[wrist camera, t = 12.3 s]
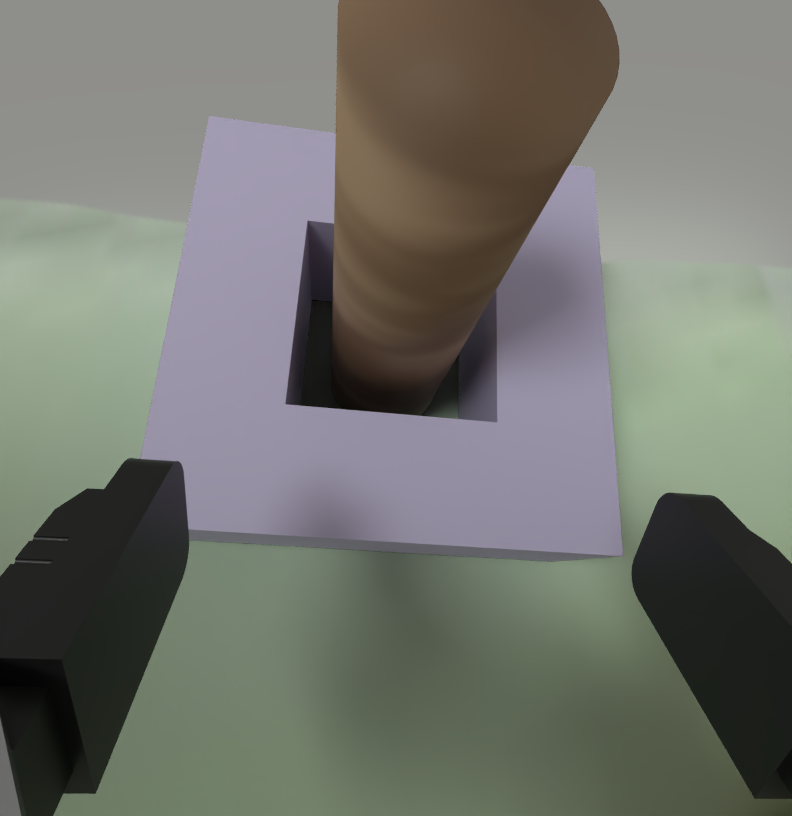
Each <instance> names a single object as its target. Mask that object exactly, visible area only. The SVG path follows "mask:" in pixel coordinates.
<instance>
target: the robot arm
mask: <svg viewBox="0 0 792 816" xmlns="http://www.w3.org/2000/svg"><path fill="white" fill-rule="evenodd" d="M188 551H189V530H188V517H187V505H186V493H185V481H184V471H183V467H182V464H181V463H180V462H179V461H167V460H151V459H135V458H129V459H127V460H126V461H125V462H124V463H123V464H122V465H121V467H120V468H119V469H118V471H117V472H116V474H115V475H114V476H113V478H112V479H111V481H110V482H109V483H108V485H107V486H106V488H105V489H86V490H84V491H83V492H81V493H80V494H78V495H76V496H75V497H73V498H72V499H70V500H69V501H67V502H66V503H64V504H63V505H61V506H59V507H58V508H56V509H55V510H54V511H53V512H52V514H51V515H50V516H49V517H48V519H47V520H46V521H45V522H44V524H43V525H42V526H41V527H40V528H39V530H38V531H37V532H36V533H35V535H34V539H33V541H29V542H28V543H27V544H26V546H25V547H24V548H23V549H22V551H21V552H20V553H19V554H18V556H17V557H16V558H15V563H14V564H10V565H9V567H8V568H7V569H6V570H5V572H4V573H3V574H2V575H1V576H0V816H53V815H54V813H55V810H56V808H57V806H58V804H59V801H60V799H61V797H62V795H63V793H88V794H96V791H97V789H98V786H99V784H100V781H101V779H102V776H103V774H104V771H105V769H106V766H107V764H108V761H109V759H110V756H111V754H112V752H113V749H114V747H115V744H116V742H117V739H118V737H119V734H120V732H121V729H122V727H123V724H124V722H125V719H126V717H127V714H128V712H129V709H130V707H131V704H132V702H133V700H134V697H135V695H136V692H137V690H138V687H139V685H140V682H141V680H142V677H143V675H144V672H145V670H146V667H147V665H148V662H149V660H150V657H151V655H152V652H153V650H154V647H155V645H156V643H157V640H158V638H159V635H160V633H161V630H162V628H163V625H164V623H165V620H166V618H167V615H168V613H169V610H170V608H171V605H172V603H173V600H174V598H175V595H176V593H177V590H178V588H179V586H180V583H181V581H182V578H183V575H184V572H185V568H186V564H187V559H188ZM632 583H633V588H634V591H635V594H636V596H637V598H638V600H639V602H640V603H641V605H642V607H643V609H644V610H645V612H646V614H647V615H648V617H649V619H650V620H651V622H652V624H653V626H654V627H655V629H656V631H657V632H658V634H659V636H660V638H661V639H662V641H663V643H664V644H665V646H666V648H667V650H668V651H669V653H670V655H671V656H672V658H673V660H674V661H675V663H676V665H677V667H678V668H679V670H680V672H681V673H682V675H683V677H684V679H685V680H686V682H687V684H688V685H689V687H690V689H691V690H692V692H693V694H694V696H695V697H696V699H697V701H698V702H699V704H700V706H701V708H702V709H703V711H704V713H705V714H706V716H707V718H708V720H709V721H710V723H711V725H712V726H713V728H714V730H715V731H716V733H717V735H718V737H719V738H720V740H721V742H722V743H723V745H724V747H725V749H726V750H727V752H728V754H729V755H730V757H731V759H732V760H733V762H734V764H735V766H736V767H737V769H738V771H739V772H740V774H741V776H742V778H743V779H744V781H745V783H746V784H747V786H748V788H749V790H750V791H751V793H752V795H753V796H754V798H755V799H792V564H791V562H790V561H789V560H788V559H787V558H786V557H785V556H784V555H783V554H782V553H781V552H780V551H779V550H778V549H777V548H775V547H774V546H772V545H771V544H769V543H768V542H766V541H765V540H763V539H762V538H760V537H759V536H757V535H756V534H754V533H753V532H751V531H750V530H749V529H748V528H747V527H746V526H745V525H744V524H743V523H742V522H741V521H740V520H739V519H738V518H737V517H736V516H735V515H734V514H733V513H732V512H731V511H730V510H729V509H728V508H727V507H726V505H725V504H724V503H723V502H722V501H721V500H719V499H718V498H716V497H715V496H711V495H696V494H680V493H666V494H664V495H663V496H662V497H661V498H660V499H659V500H658V502H657V504H656V506H655V509H654V511H653V514H652V516H651V518H650V521H649V523H648V526H647V528H646V531H645V533H644V536H643V538H642V540H641V543H640V545H639V548H638V550H637V553H636V555H635V558H634V560H633V564H632Z"/></svg>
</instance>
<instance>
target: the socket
mask: <svg viewBox="0 0 792 816" xmlns="http://www.w3.org/2000/svg"><path fill="white" fill-rule="evenodd" d="M335 145H336V133H331V132H323V131H316V130H308V129H300V128H294V127H286V126H279V125H272V124H264V123H256V122H249V121H241V120H235V119H228V118H220V117H213V116H210V117H209V121H208V125H207V130H206V135H205V140H204V146H203V150H202V155H201V160H200V165H199V170H198V175H197V180H196V185H195V190H194V195H193V200H192V205H191V210H190V214H189V220H188V224H187V229H186V234H185V239H184V244H183V249H182V254H181V259H180V264H179V269H178V274H177V279H176V284H175V289H174V294H173V299H172V304H171V309H170V314H169V319H168V323H167V328H166V333H165V338H164V343H163V348H162V353H161V358H160V363H159V368H158V373H157V378H156V383H155V388H154V393H153V398H152V403H151V408H150V413H149V418H148V423H147V428H146V432H145V437H144V442H143V447H142V452H141V457H140V459H151V460H167V461H179V462H180V463H181V464H182V467H183V471H184V481H185V493H186V505H187V517H188V530H189V540H199V541H216V542H233V543H250V544H267V545H283V546H300V547H317V548H334V549H350V550H367V551H384V552H401V553H417V554H434V555H451V556H468V557H484V558H501V559H518V560H535V561H564V560H578V559H592V558H605V557H619V556H623V548H622V535H621V521H620V508H619V495H618V482H617V468H616V455H615V442H614V429H613V416H612V402H611V389H610V376H609V363H608V349H607V336H606V323H605V310H604V296H603V283H602V270H601V257H600V244H599V231H598V217H597V204H596V192H595V179H594V178H595V177H594V168H588V167H580V166H573V165H569V166H568V168H567V169H566V171H565V173H564V174H563V176H562V178H561V180H560V181H559V183H558V185H557V186H556V188H555V190H554V192H553V193H552V195H551V197H550V198H549V200H548V202H547V204H546V205H545V207H544V209H543V210H542V212H541V214H540V216H539V217H538V219H537V221H536V222H535V224H534V226H533V228H532V229H531V231H530V233H529V234H528V236H527V238H526V240H525V241H524V243H523V245H522V246H521V248H520V250H519V252H518V253H517V255H516V257H515V258H514V260H513V262H512V264H511V265H510V267H509V269H508V270H507V272H506V274H505V276H504V277H503V279H502V281H501V282H500V284H499V286H498V288H497V289H496V291H495V293H494V294H493V296H492V298H491V300H490V301H489V303H488V305H487V306H486V308H485V310H484V312H483V313H482V315H481V317H480V319H479V320H478V322H477V324H476V325H475V327H474V329H473V331H472V332H471V334H470V336H469V337H468V339H467V341H466V343H465V344H464V346H463V348H462V349H461V351H460V353H459V398H458V419H451V418H440V417H428V416H416V415H404V414H393V413H381V412H369V411H358V410H346V409H334V408H322V407H311V406H300V402H301V393H302V384H303V376H304V367H305V358H306V349H307V340H308V331H309V322H310V313H311V304H312V300H320V301H330V302H333V258H334V202H335Z"/></svg>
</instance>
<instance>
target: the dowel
mask: <svg viewBox="0 0 792 816" xmlns="http://www.w3.org/2000/svg"><path fill="white" fill-rule="evenodd" d="M618 69H619V46H618V41H617V36H616V33H615V30H614V27H613V24H612V22H611V20H610V18H609V16H608V14H607V12H606V10H605V8H604V7H603V5H602V4H601V2H600V1H599V0H339V3H338V34H337V89H336V92H337V93H336V145H335V202H334V258H333V315H332V371H331V383H332V390H333V394H334V397H335V399H336V401H337V403H338V405H339V406H340V408H341V409H346V410H358V411H369V412H381V413H393V414H404V415H416V416H421V415H422V414H423V413H424V412H425V411H426V409H427V408H428V406H429V404H430V403H431V401H432V399H433V397H434V396H435V394H436V392H437V391H438V389H439V387H440V385H441V384H442V382H443V380H444V379H445V377H446V375H447V373H448V372H449V370H450V368H451V367H452V365H453V363H454V361H455V360H456V358H457V356H458V355H459V353H460V351H461V349H462V348H463V346H464V344H465V343H466V341H467V339H468V337H469V336H470V334H471V332H472V331H473V329H474V327H475V325H476V324H477V322H478V320H479V319H480V317H481V315H482V313H483V312H484V310H485V308H486V306H487V305H488V303H489V301H490V300H491V298H492V296H493V294H494V293H495V291H496V289H497V288H498V286H499V284H500V282H501V281H502V279H503V277H504V276H505V274H506V272H507V270H508V269H509V267H510V265H511V264H512V262H513V260H514V258H515V257H516V255H517V253H518V252H519V250H520V248H521V246H522V245H523V243H524V241H525V240H526V238H527V236H528V234H529V233H530V231H531V229H532V228H533V226H534V224H535V222H536V221H537V219H538V217H539V216H540V214H541V212H542V210H543V209H544V207H545V205H546V204H547V202H548V200H549V198H550V197H551V195H552V193H553V192H554V190H555V188H556V186H557V185H558V183H559V181H560V180H561V178H562V176H563V174H564V173H565V171H566V169H567V168H568V166H569V164H570V162H571V161H572V159H573V157H574V155H575V154H576V152H577V150H578V149H579V147H580V145H581V144H582V142H583V140H584V138H585V137H586V135H587V133H588V131H589V130H590V128H591V126H592V125H593V123H594V121H595V119H596V118H597V116H598V114H599V113H600V111H601V109H602V108H603V106H604V104H605V102H606V101H607V99H608V97H609V95H610V94H611V92H612V90H613V88H614V85H615V82H616V79H617V76H618Z"/></svg>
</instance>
